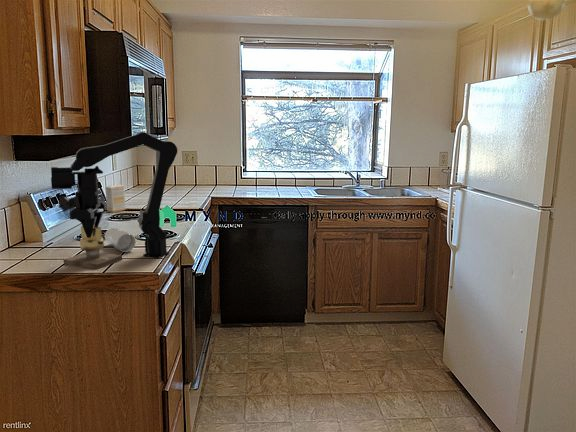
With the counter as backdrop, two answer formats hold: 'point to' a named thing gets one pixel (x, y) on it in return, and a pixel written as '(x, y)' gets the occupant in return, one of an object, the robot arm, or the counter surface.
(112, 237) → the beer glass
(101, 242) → the cap
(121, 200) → the supplement box
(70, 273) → the counter surface
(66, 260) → the base
